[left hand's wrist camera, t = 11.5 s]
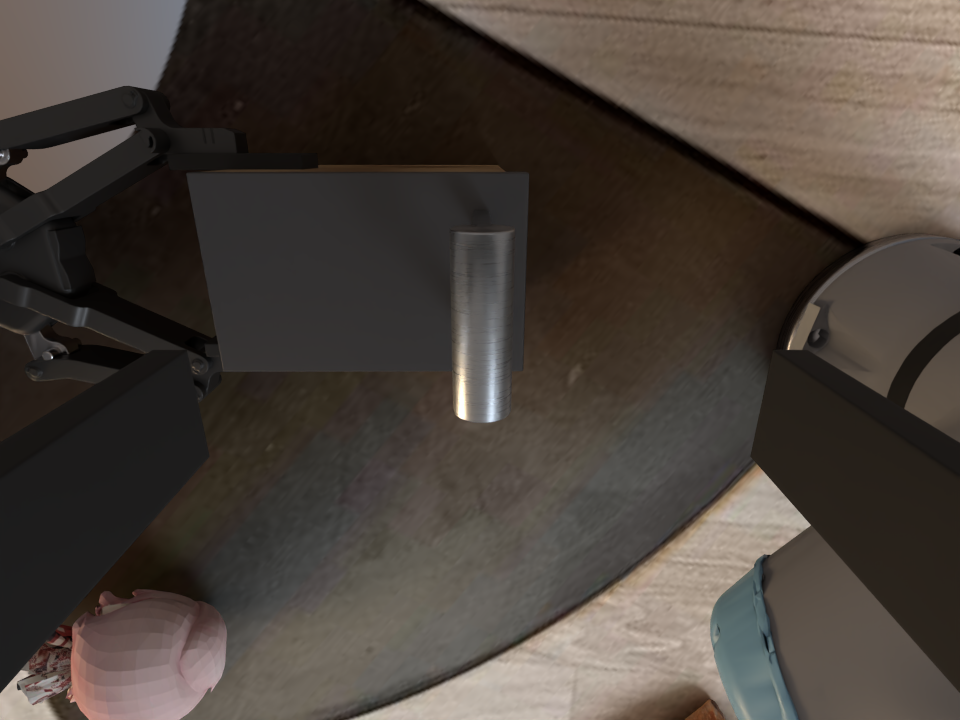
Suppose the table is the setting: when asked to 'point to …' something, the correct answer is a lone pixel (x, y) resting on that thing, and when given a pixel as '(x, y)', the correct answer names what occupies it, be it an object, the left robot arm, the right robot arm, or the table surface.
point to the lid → (370, 274)
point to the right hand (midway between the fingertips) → (320, 257)
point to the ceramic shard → (707, 712)
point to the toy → (132, 658)
